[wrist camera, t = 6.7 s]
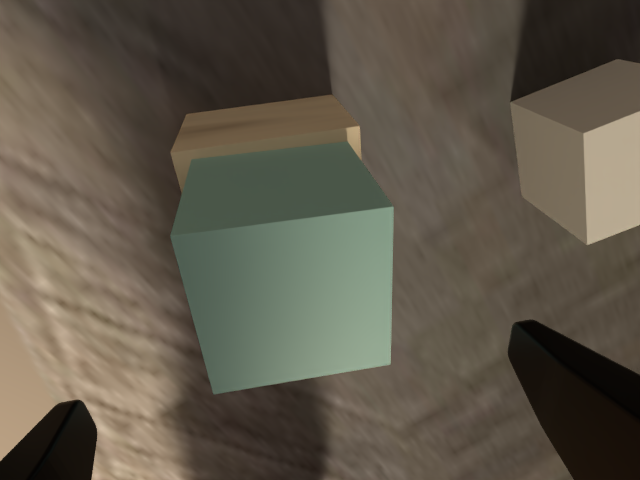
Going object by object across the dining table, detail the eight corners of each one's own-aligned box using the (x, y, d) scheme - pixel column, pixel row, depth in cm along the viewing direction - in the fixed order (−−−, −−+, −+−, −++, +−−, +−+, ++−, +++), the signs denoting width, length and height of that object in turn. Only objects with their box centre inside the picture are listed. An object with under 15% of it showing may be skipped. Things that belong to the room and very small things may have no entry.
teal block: (352, 268, 17) (390, 364, 13) (220, 288, 16) (213, 394, 12) (347, 141, 14) (393, 206, 10) (191, 159, 14) (170, 236, 10)
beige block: (615, 158, 22) (705, 199, 18) (520, 195, 22) (587, 245, 18) (616, 58, 20) (720, 78, 15) (509, 101, 20) (583, 133, 16)
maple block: (341, 220, 22) (367, 278, 17) (217, 240, 21) (212, 304, 17) (331, 93, 19) (359, 125, 14) (186, 113, 18) (170, 152, 14)
